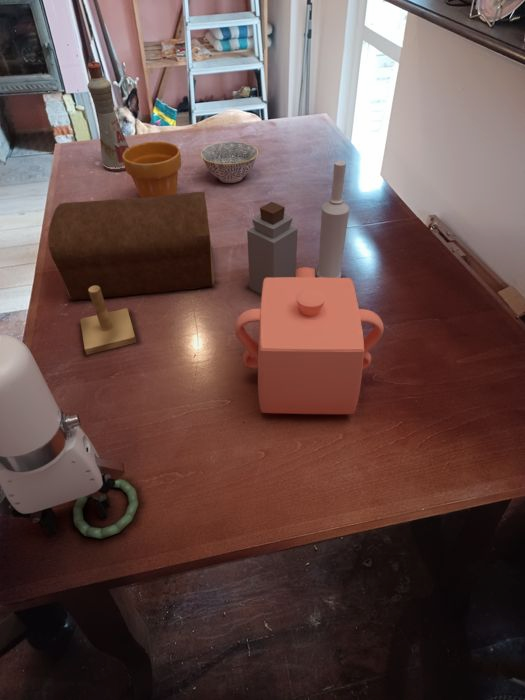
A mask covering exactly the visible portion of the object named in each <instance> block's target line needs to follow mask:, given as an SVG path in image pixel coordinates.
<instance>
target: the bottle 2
mask: <svg viewBox="0 0 525 700" xmlns="http://www.w3.org/2000/svg"><path fill="white" fill-rule="evenodd" d="M346 168H347V163H346V162H345V161H344V160H336V161H334V163H333V172H332V173H333V175H332V187H331V197H329V199H328V200H327V201H326V202H325V203H323V204H322V206H321V215H320V216H321V217H320V233H319V234H320V235H319V253H318V267H317V268H318V269H317V271H316V277H322V278H342V264H343V258H344V252H345V251H344V249H345V244H346V236H347V229H348V224H349V216H350V210H351V209H350V206H349V205H348V204H347V203H346V202H345V199H344V197H343V193H344V184H345V176H346Z"/></svg>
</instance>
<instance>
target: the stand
mask: <svg viewBox="0 0 525 700" xmlns="http://www.w3.org/2000/svg"><path fill="white" fill-rule="evenodd" d="M88 291H89V294H90V297H91V299H90V300H91V302H92V305H93V309H94V311H95V315H91V316H86V317H82V318H80V319H79V320H80V321H79V322H80V329H81V335H82V342H83V348H84V351H85V355H86V356H89V355H92V354H96V353H101V352H105V351H110V350H113V349H116V348H120V347H124V346H129V345H132V344H137V339H136V335H135V331H134V327H133V323H132V320H131V316H130V313H129V310H128V309H129V308H128V307H125V308H122V309H121V308H120V309H117V310H113V311H108V308H107V305H106V301H105V299H104V298H105V297H103V295H102V292H101V289H100V287H99V286H91V287H90V288H89V289H88Z"/></svg>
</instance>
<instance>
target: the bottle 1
mask: <svg viewBox="0 0 525 700" xmlns="http://www.w3.org/2000/svg"><path fill="white" fill-rule="evenodd" d="M87 70H88V72H89V76H90V79H89V82H88V83H87V89H88V91H89V93H90V97H91V99H92V102H93V104H94V106H95V109H96V112H97V123H98V130H99V141H100V142H99V143H100V152H101V163H102V165H103V164H104V165H105V166H107V167H115V168H116V167H122V166H125V165H124V161H123V157H122V155H123V153H124V151H125V150H127V149H128V148H130V145H129V143H128V141H127V139H126V137H125V135H124V132H123V129H122V128H121V127H122V126H121V125H120V122H119V119H118V117H117V114H116V111H115V107H114V105H115V104H114V98H113V91H112V83H111V81H109V79H107V78H105V76H104V75H103V68H102V63H100V62H98V61H92V62H89V63H88V64H87ZM104 165H103V167H104V168H105V169H107V170H108V171H110V172H112V171H113V172H122V171H126V169H125V168H120V169H110V168H106V167H105V166H104Z"/></svg>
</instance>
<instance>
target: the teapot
mask: <svg viewBox="0 0 525 700" xmlns="http://www.w3.org/2000/svg"><path fill="white" fill-rule="evenodd" d="M253 322H258V323H259V324H258V325H259V327H258V341H257V342H256V341H255V340H254V339H253V338H252V336H250V334H249V333H248V332H247V331H246V329H245V327H244V326H245V325H247V324H251V323H253ZM362 323H366V324H370V325H373V326H374V327H373V328H372V330H371V331H370V332H369V333H368V334H367V335H366V336H365V337H364V333H363V327H362ZM384 327H385V326H384V323H383V321H382V319H381V317H380V316H379V315H378V314H377V313H376V312H374V311H372V310H370V309H366V308H365V309H364V308H360V307H359V303H358V298H357V293H356V288H355V284H354V281H353V279H352V278H351V277H341V278H322V277H317V276H316V268H313V267H309V266H307V267H306V266H303V267H298V268H297V267H296V276H295V277H277V278H265V279H264V281H263V288H262V295H261V299H260V308H252V309H251V308H250V309H247V310H246V311H244V312H242V313H241V314H239V316H238V317H237V319H236V320H235V323H234V332H235V336H236V337H237V339H238V341H239V342H240V343H241V345H242V346H243V347H244V348H245V350H244V352H243V354H242V361H243V363H244V365H245V366H246V367H247V368H250V369H257V391H258V403H259V408H260V409H259V410H260V412H261V413H263V414H286V415H287V414H290V415H292V414H295V415H354V414H355V412H356V409H357V406H358V403H359V398H360V393H361V385H362V377H363V370H365V369H367V368H368V367H369V366H370V365H371V364H372V363H371V362H372V355H371V353H370V352H369V351H370V350H371V349H372V348H373V347H374V346H376V345H377V343H378V342H379V341H380V340H381V338H382V337H383V334H384V331H385V329H384Z"/></svg>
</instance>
